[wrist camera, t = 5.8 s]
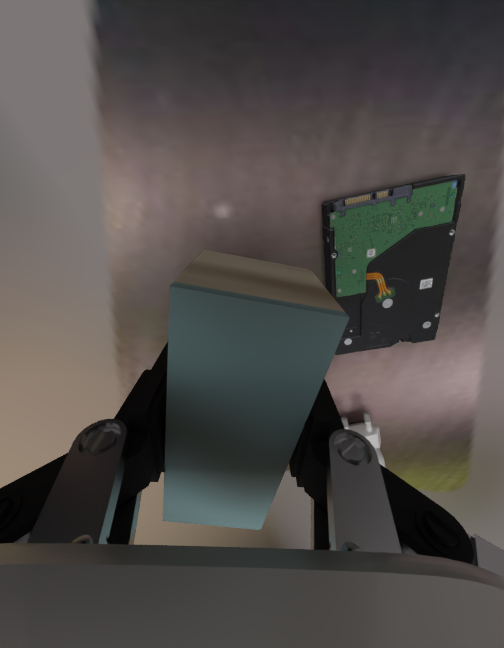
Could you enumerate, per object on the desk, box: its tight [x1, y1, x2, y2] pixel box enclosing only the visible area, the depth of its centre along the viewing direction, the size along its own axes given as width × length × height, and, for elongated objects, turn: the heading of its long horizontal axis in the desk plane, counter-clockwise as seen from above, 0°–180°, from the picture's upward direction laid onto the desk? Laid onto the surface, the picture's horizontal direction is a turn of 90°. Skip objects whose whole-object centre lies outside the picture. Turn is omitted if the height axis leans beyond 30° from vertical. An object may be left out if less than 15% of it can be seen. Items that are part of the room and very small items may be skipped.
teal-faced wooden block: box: [163, 249, 350, 530], centre depth 9 cm, size 10×4×4 cm, turn 169°
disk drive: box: [322, 174, 465, 355], centre depth 23 cm, size 10×3×15 cm
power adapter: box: [341, 411, 386, 468], centre depth 30 cm, size 11×5×6 cm, turn 19°
